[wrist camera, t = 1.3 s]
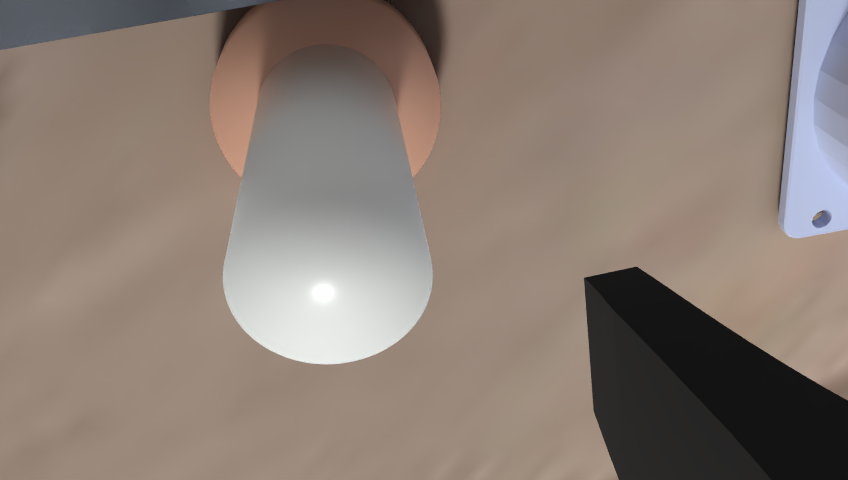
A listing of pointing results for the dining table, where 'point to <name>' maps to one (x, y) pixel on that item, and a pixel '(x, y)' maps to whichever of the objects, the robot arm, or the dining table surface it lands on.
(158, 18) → the keyhole plate
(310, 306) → the keyhole peg
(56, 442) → the dining table surface
